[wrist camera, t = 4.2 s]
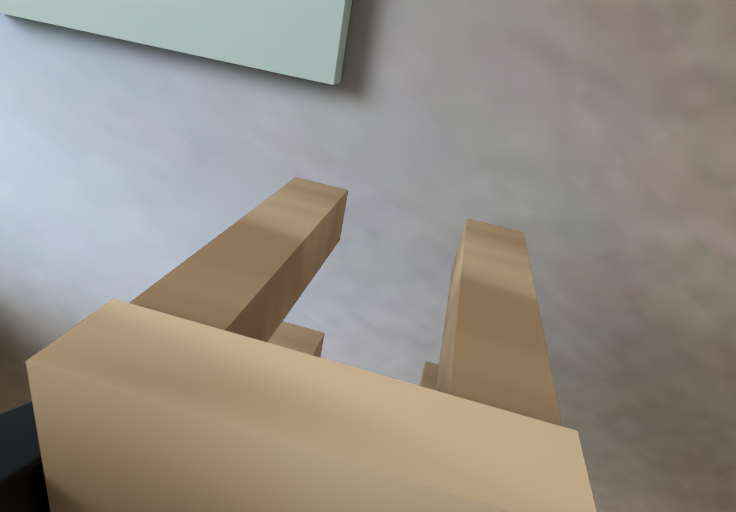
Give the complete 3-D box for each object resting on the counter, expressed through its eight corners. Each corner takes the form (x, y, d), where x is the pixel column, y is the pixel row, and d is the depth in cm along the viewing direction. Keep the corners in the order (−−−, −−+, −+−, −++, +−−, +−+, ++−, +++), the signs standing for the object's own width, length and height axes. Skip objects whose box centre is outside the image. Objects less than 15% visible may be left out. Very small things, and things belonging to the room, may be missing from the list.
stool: (464, 416, 12) (444, 800, 6) (271, 359, 13) (74, 659, 7) (529, 228, 10) (602, 538, 4) (292, 171, 11) (25, 360, 5)
